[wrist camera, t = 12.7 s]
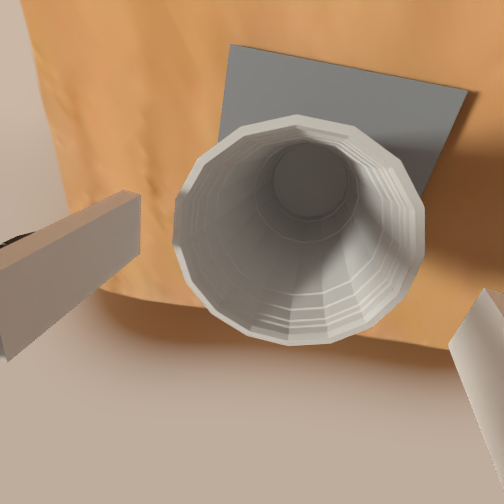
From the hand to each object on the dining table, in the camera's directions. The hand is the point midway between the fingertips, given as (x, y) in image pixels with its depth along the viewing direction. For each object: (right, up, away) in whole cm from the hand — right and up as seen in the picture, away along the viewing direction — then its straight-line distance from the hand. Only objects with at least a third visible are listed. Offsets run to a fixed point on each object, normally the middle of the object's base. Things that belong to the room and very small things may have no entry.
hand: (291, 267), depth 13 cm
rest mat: (+3, +6, +12) cm, 14 cm away
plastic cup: (+3, +6, +12) cm, 14 cm away
